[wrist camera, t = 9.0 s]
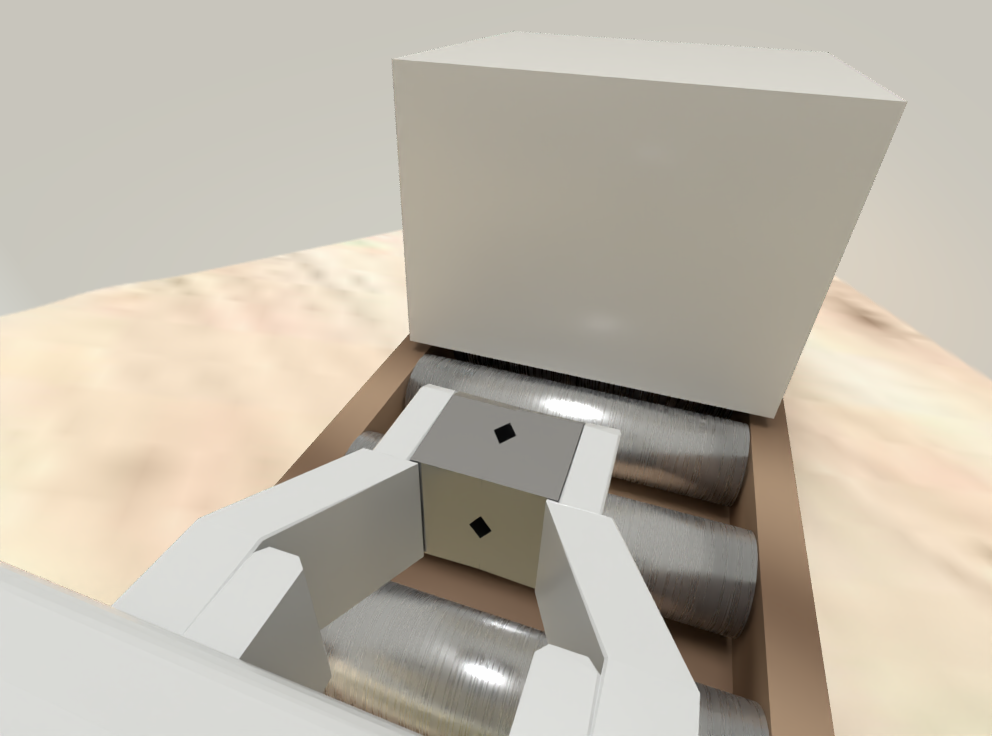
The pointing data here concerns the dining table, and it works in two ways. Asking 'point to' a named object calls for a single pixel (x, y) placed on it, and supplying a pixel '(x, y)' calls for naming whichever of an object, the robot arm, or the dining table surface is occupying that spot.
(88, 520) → the dining table surface
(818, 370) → the dining table surface
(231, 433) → the dining table surface
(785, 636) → the roller track
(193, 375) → the dining table surface
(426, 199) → the off-white cardboard box
